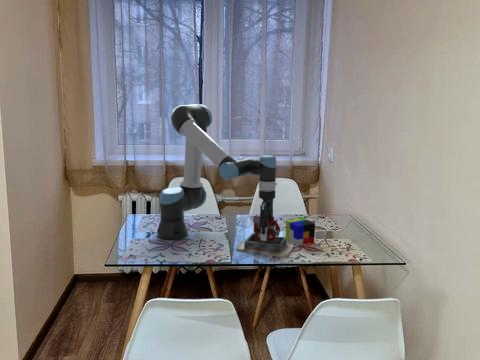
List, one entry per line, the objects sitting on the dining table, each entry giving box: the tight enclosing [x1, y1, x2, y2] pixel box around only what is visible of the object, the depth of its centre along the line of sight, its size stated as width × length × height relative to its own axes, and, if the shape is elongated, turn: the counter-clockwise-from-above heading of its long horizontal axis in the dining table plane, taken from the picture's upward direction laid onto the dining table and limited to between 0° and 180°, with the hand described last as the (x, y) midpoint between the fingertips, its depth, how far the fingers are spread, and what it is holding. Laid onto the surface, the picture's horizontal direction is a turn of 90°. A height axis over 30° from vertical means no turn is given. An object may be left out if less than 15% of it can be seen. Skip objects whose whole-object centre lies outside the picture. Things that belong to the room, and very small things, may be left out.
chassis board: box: [235, 232, 295, 258], centre depth 207 cm, size 24×14×4 cm, turn 71°
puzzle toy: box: [285, 217, 316, 247], centre depth 217 cm, size 10×10×10 cm
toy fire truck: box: [252, 215, 281, 241], centre depth 205 cm, size 7×12×10 cm, turn 83°
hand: (266, 237), depth 206 cm, fingers closed on toy fire truck, 7 cm apart
